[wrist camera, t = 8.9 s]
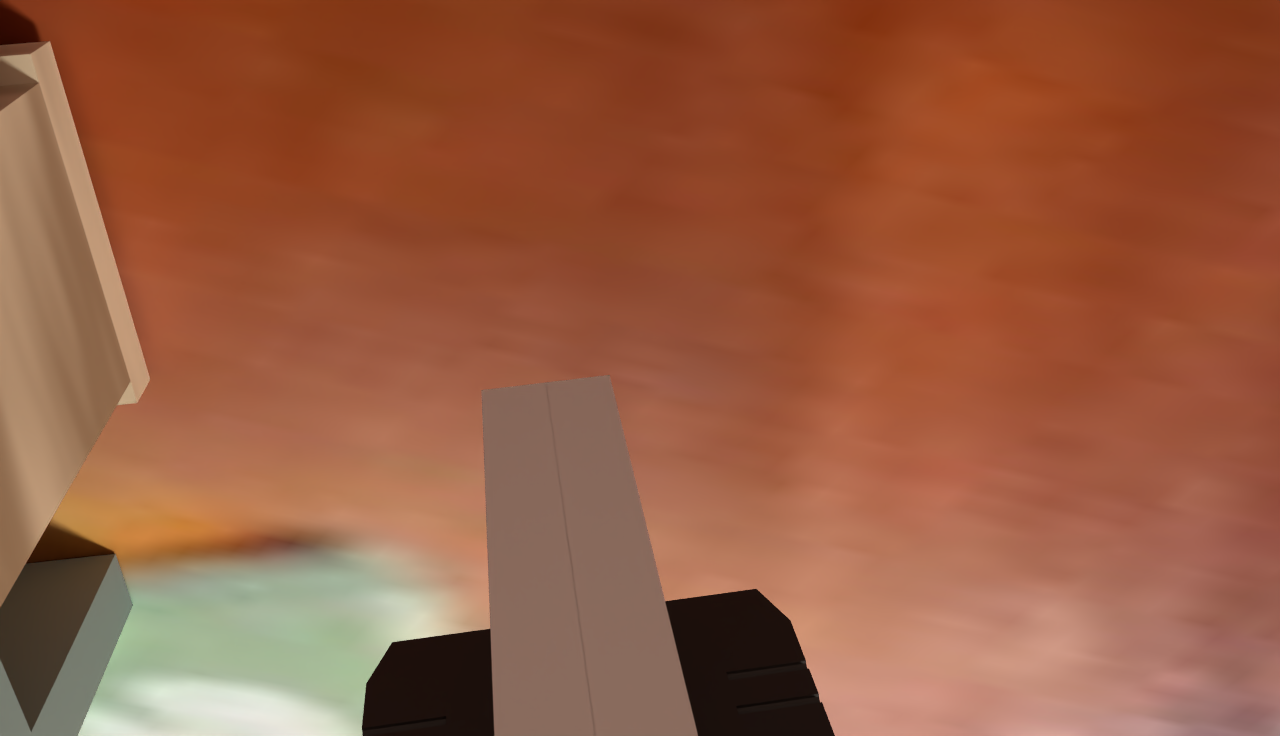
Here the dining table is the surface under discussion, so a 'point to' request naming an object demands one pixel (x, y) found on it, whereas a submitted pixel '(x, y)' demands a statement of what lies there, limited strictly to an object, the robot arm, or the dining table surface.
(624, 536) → the robot arm
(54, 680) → the bridge
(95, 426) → the paddle
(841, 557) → the dining table surface
